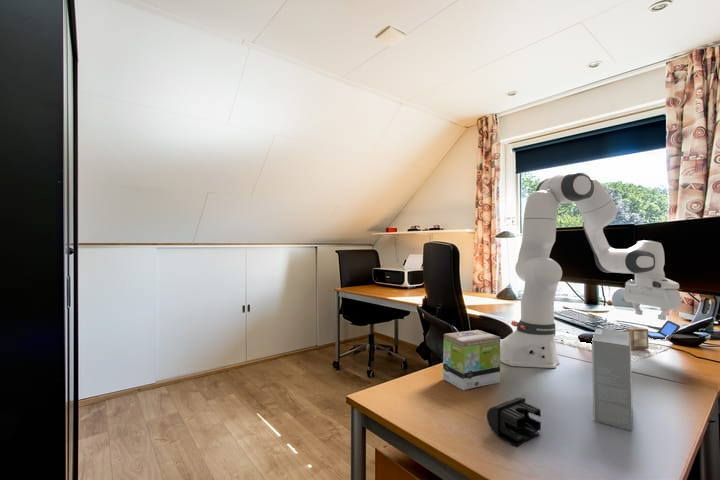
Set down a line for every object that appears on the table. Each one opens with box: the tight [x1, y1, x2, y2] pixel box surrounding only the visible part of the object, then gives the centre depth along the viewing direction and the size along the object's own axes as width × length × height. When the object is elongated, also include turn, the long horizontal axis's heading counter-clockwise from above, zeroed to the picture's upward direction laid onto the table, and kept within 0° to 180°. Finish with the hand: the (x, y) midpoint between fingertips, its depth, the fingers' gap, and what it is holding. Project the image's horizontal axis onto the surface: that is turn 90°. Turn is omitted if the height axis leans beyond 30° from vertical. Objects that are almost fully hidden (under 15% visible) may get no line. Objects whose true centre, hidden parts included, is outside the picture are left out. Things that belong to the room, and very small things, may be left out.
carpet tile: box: [555, 327, 669, 363], centre depth 146 cm, size 39×30×2 cm
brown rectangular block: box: [624, 326, 649, 349], centre depth 134 cm, size 7×3×8 cm, turn 94°
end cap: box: [486, 396, 542, 448], centre depth 75 cm, size 10×7×7 cm
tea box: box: [442, 329, 501, 391], centre depth 104 cm, size 15×10×15 cm, turn 115°
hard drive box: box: [591, 327, 633, 432], centre depth 84 cm, size 16×8×20 cm, turn 141°
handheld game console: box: [648, 320, 681, 340], centre depth 155 cm, size 12×11×7 cm
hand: (650, 317), depth 129 cm, fingers open, 8 cm apart
